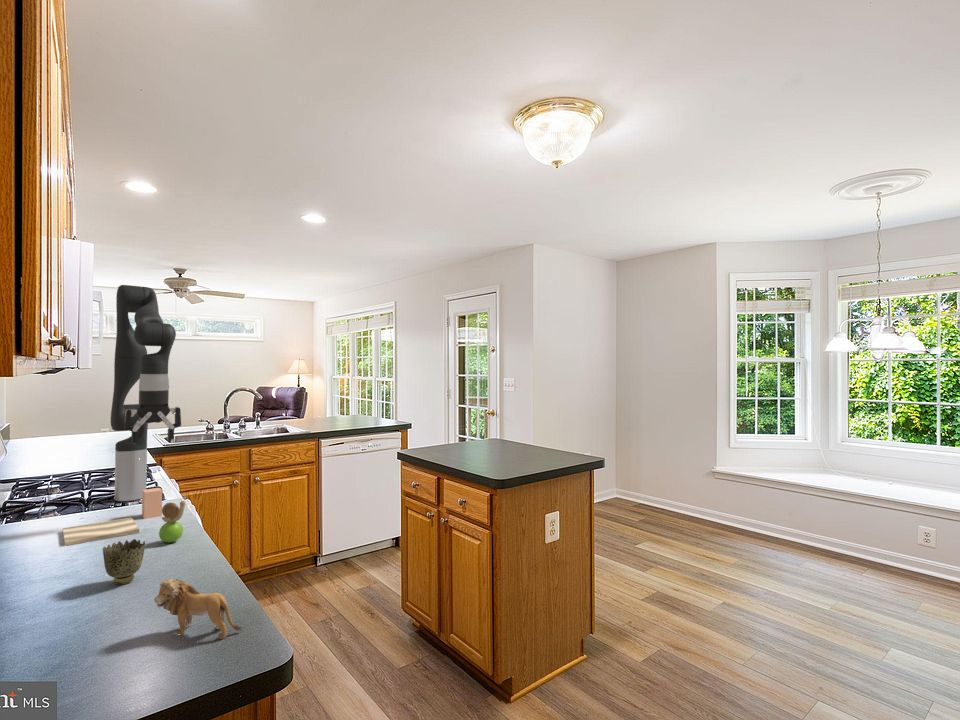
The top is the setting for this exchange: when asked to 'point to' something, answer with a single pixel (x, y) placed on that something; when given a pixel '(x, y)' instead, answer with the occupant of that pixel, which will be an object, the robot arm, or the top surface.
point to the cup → (123, 560)
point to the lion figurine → (193, 605)
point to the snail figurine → (172, 522)
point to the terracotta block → (151, 503)
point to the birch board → (99, 531)
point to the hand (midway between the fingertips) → (152, 442)
